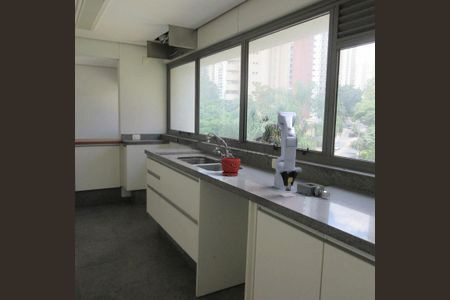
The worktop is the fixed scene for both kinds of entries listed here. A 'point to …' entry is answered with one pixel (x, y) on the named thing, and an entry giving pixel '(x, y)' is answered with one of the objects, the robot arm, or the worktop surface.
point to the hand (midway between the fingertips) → (288, 185)
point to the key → (289, 184)
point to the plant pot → (230, 166)
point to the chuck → (312, 189)
